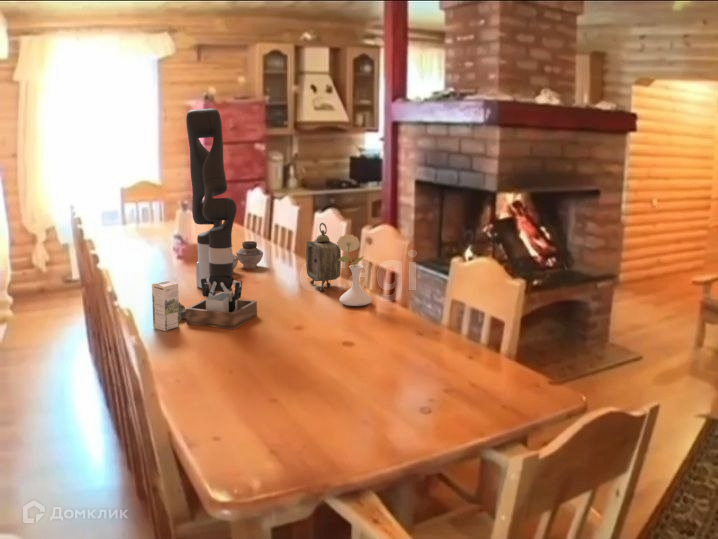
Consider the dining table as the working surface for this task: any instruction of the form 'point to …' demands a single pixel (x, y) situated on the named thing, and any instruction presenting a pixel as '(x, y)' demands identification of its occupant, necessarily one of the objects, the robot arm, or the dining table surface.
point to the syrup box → (165, 305)
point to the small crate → (219, 303)
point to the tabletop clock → (323, 259)
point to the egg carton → (182, 311)
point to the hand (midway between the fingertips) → (222, 310)
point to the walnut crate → (221, 315)
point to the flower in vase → (353, 273)
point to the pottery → (248, 255)
